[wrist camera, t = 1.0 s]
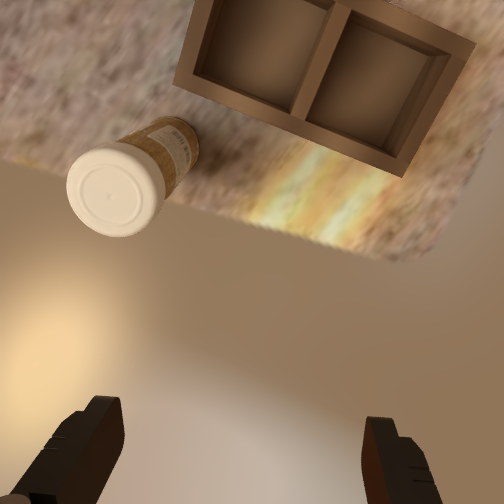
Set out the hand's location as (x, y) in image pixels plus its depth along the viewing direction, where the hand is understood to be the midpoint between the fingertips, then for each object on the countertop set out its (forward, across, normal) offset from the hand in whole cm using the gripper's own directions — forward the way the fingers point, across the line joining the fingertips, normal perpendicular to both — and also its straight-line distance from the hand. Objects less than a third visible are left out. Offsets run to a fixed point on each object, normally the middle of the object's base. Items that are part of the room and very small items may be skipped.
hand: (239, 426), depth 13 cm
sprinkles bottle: (+22, +8, -7) cm, 24 cm away
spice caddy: (+22, -3, -12) cm, 25 cm away
